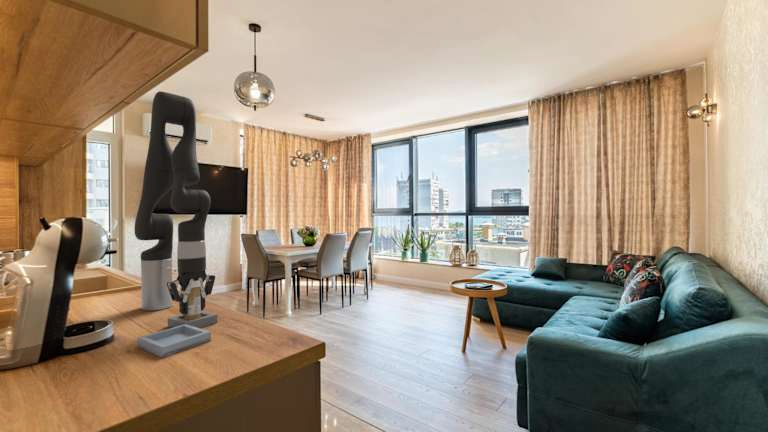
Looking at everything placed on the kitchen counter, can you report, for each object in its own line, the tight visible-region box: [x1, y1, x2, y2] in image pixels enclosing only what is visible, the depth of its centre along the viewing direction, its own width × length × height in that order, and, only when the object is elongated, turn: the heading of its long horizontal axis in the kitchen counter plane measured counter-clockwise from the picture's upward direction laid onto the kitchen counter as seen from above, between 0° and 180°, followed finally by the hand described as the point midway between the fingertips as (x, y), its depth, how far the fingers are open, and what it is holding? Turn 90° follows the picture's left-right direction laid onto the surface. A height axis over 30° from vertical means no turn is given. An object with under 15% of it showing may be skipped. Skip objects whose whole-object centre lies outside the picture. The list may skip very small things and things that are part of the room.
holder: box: [167, 310, 218, 329], centre depth 104 cm, size 10×10×2 cm
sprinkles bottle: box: [184, 280, 201, 321], centre depth 104 cm, size 5×5×14 cm
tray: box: [137, 324, 212, 358], centre depth 89 cm, size 12×12×2 cm
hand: (192, 311), depth 104 cm, fingers closed on sprinkles bottle, 4 cm apart
